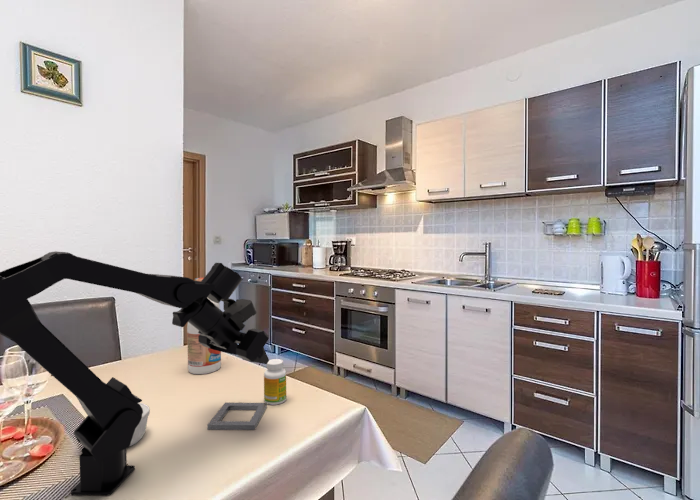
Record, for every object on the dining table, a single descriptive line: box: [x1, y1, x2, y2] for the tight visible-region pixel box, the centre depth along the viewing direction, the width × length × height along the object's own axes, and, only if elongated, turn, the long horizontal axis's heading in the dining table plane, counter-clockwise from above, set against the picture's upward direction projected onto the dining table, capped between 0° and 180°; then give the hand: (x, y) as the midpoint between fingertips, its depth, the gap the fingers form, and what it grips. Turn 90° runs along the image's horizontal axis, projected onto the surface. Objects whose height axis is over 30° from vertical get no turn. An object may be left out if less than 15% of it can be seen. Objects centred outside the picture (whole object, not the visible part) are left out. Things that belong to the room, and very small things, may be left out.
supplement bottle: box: [263, 358, 287, 406], centre depth 87 cm, size 5×5×10 cm
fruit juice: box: [186, 277, 222, 375], centre depth 108 cm, size 9×9×28 cm
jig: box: [206, 402, 268, 431], centre depth 79 cm, size 10×10×1 cm
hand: (254, 357), depth 82 cm, fingers open, 9 cm apart
